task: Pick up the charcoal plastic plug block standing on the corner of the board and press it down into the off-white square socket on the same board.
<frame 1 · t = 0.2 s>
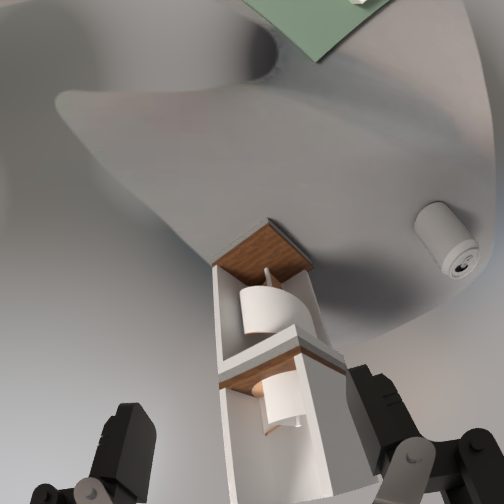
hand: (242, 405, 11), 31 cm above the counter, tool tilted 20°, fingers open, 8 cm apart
display case: (262, 257, 49), on the counter
can: (428, 216, 47), on the counter
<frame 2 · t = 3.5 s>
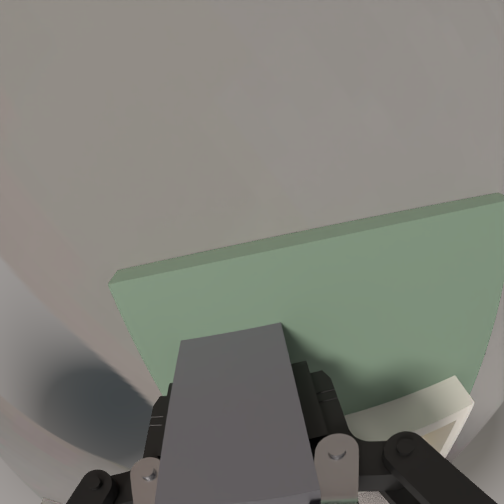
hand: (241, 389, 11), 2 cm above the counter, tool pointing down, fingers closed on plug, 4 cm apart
plug: (240, 368, 13), point 1 cm above the counter, touching board, gripper
board: (347, 394, 16), on the counter
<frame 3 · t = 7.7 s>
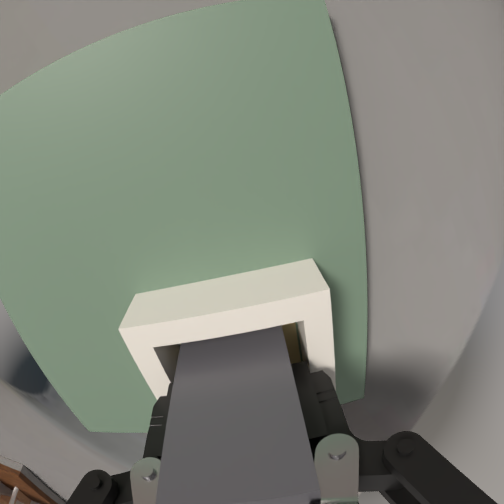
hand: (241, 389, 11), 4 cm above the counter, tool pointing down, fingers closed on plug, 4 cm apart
plug: (241, 368, 13), point 2 cm above the counter, touching gripper
display case: (19, 475, 24), on the counter
board: (154, 272, 13), on the counter
when the fingers open (4 cm above the counter, at t = 9.0 s): plug stays where it is, resting on board.
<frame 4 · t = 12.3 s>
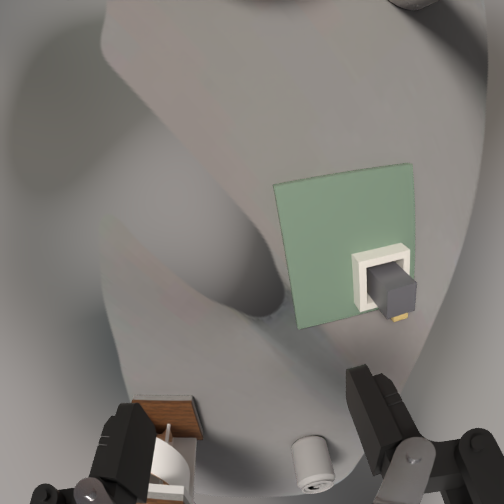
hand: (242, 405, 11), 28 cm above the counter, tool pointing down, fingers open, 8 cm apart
plug: (378, 275, 40), point 1 cm above the counter, touching board
display case: (169, 414, 50), on the counter
can: (307, 441, 56), on the counter
board: (353, 247, 39), on the counter
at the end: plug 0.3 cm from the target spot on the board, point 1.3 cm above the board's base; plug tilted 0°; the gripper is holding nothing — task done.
